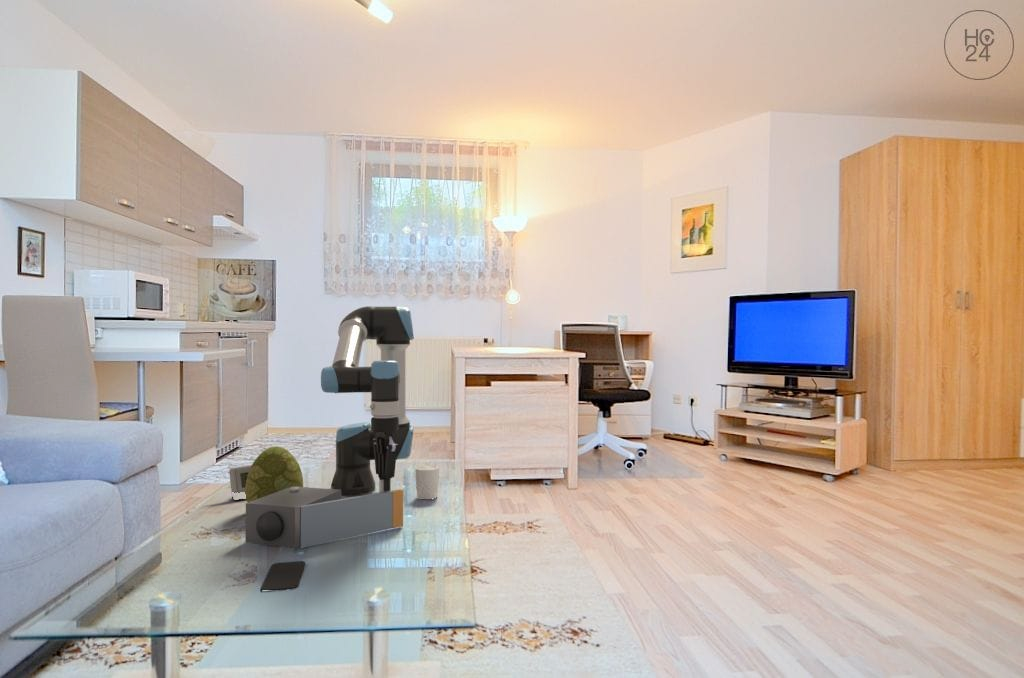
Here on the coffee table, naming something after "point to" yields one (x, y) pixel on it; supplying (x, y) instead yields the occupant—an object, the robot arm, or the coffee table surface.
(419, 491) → the white cup
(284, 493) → the camera body
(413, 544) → the coffee table surface
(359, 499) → the side door
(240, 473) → the digital clock
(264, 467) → the decorative sculpture
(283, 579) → the phone
